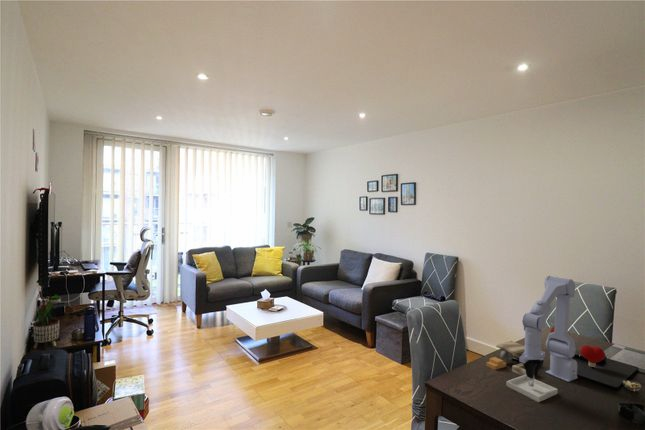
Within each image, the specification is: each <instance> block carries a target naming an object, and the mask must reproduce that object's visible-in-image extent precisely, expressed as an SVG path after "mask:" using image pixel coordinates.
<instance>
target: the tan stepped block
mask: <svg viewBox="0 0 645 430" xmlns="http://www.w3.org/2000/svg"><path fill="white" fill-rule="evenodd" d="M485 363H486V364H485V366H486V367H487V368H490V369H492V370H494V371H497V370H499V369H502V368H506V367H507V364H506V363H505V362H504V361H503V360H501V359H500V357H499V358H498V357H496V356H492V357H490V358H489V361H487V362H485Z"/></svg>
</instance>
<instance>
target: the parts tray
mask: <svg viewBox="0 0 645 430" xmlns="http://www.w3.org/2000/svg"><path fill="white" fill-rule="evenodd" d="M528 378H529V377H527V375H523V376H521V375H519V376H518V377H515V378H512V379H508V380H507V381H506V383H505V385H506V387H507V388H509V389H511V390H513V391H516V392H517V393H519V394H520V395H523V396H526V397H528V398H529V399H531V400H534V401H535V402H538V403H540V402H542V401H544V400H548V399H549V398H552V397H554V396H556V395H558V390H559V389H558V388H556V387H554V386H551V385H549V384H547V383H544V382H543V381H540V380H538V379H536V378H534V387H531V386H529V385H528Z"/></svg>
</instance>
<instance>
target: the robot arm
mask: <svg viewBox="0 0 645 430" xmlns="http://www.w3.org/2000/svg"><path fill="white" fill-rule="evenodd" d="M544 288H545V289H544V292H543V294H542V296H541V299H539V300H536V301H535V302H534V305H532V308H531V309H530V311H529V312H527V313H526V312H525V313H524V314H523V316H522V319H521V320H522V321H521V322H522V326H523V331H524V346H525V350H524V353H523V354H522V356H520V357H519V360H518V361H519V363H523V365H524V367H525V370H526V375H527V377H529V378H531V379H533V377H534V378H537V377H538V373H539V372H540V369H541V367H542V365H543V364H544V363H545V362H544V361H545V360H544V359H545V357H546V352H545V351H544V350H543V351H542V339H543V338H542V333H543V330H544V328H545V326H546V322H547V316H548V315H549V314H550V311H551V308H552V307H551V304H552V302H554V300H555V299H556V302H555V317H554V326H555V328H554V332H552V333H550V332H549V333H548V335H547V338H546V341H545V349H547V350H546V351H548V353H549V354H550V355H549V357H550V359H549V361H550V362H549V369H548V370H545V373H546V374H548V375H550V376H553V377H555V378H558V379H560V380H563V381H565V382H568V383H569V382H572V381H574V380H576V379H578V362H577V360H576V359H574V357H575V355H576V350H577V349H576V342H575V339H574V338H572V336H570V335H569V333H568V332H569V329H568V328H569V321H570V320H569V319H570V318H569V317H570V305H571V303H570V302H571V298H575V295H576V294H575V293H576V283H575V281H574V280H573V279H571V278H569V279H568V278H562V277H557V276H551V275H547V277H545V279H544ZM534 371H535V374H534Z"/></svg>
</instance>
